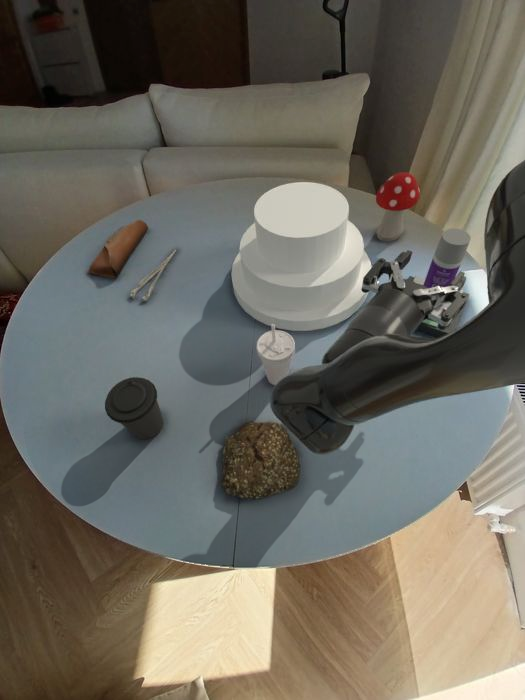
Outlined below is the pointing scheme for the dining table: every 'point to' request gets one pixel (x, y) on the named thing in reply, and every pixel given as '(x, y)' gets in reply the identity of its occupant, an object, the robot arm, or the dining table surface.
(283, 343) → the smoothie
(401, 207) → the decorative mushroom
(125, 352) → the dining table surface
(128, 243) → the sunglasses case
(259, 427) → the bread roll
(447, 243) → the container
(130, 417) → the coffee cup
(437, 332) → the scale
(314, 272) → the cake
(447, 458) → the dining table surface
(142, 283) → the jawbone
